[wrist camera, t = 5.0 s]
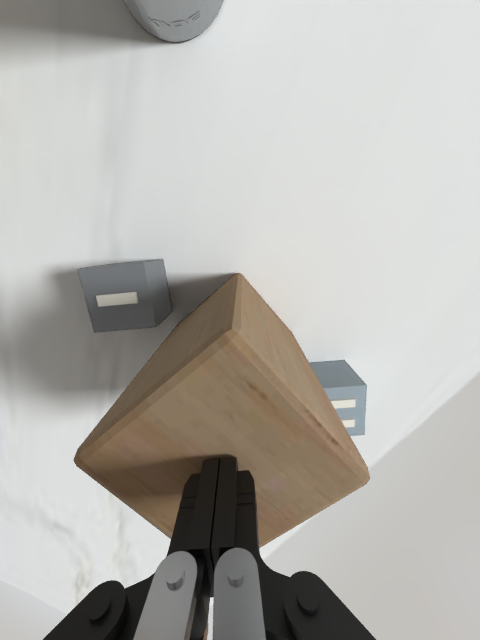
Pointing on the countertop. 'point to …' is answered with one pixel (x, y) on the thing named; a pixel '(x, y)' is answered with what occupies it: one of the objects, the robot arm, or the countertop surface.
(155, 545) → the countertop surface
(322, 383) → the slate marked block
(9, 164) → the countertop surface
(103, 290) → the charcoal marked block
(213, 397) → the wooden block
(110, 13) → the countertop surface
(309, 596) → the robot arm
